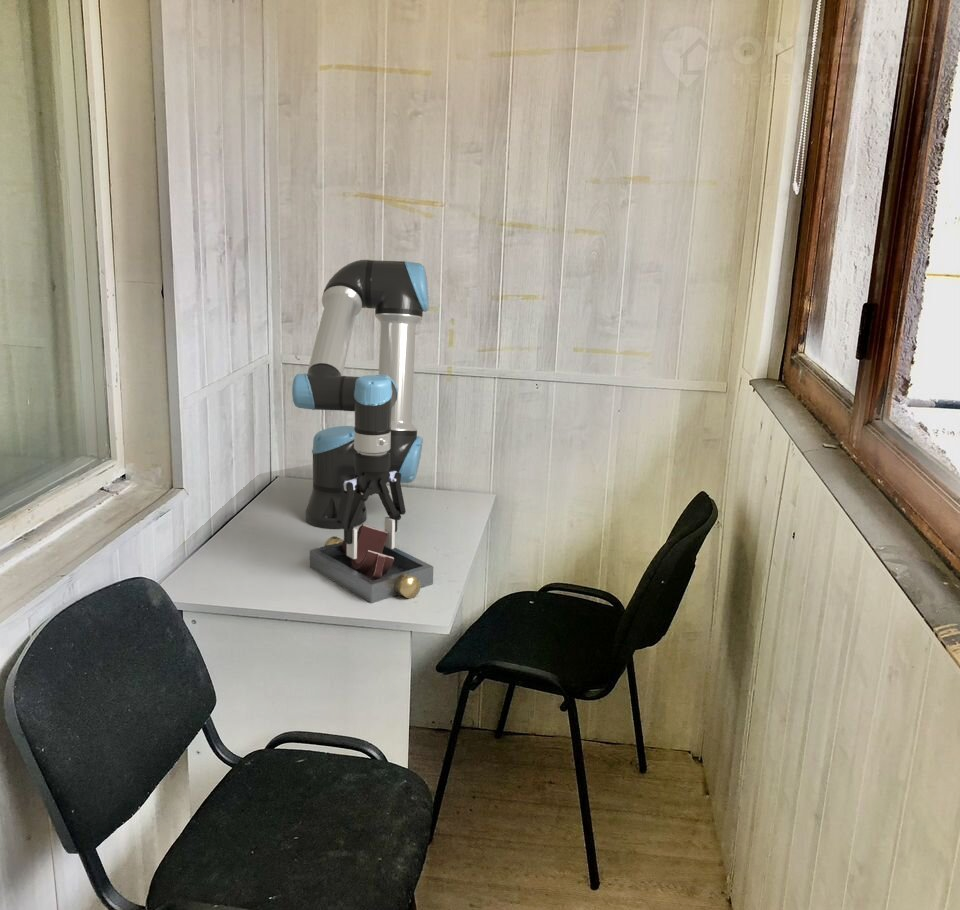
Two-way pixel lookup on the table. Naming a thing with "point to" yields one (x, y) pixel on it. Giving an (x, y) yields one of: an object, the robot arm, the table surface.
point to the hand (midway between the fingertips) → (370, 551)
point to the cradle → (398, 580)
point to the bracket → (371, 552)
